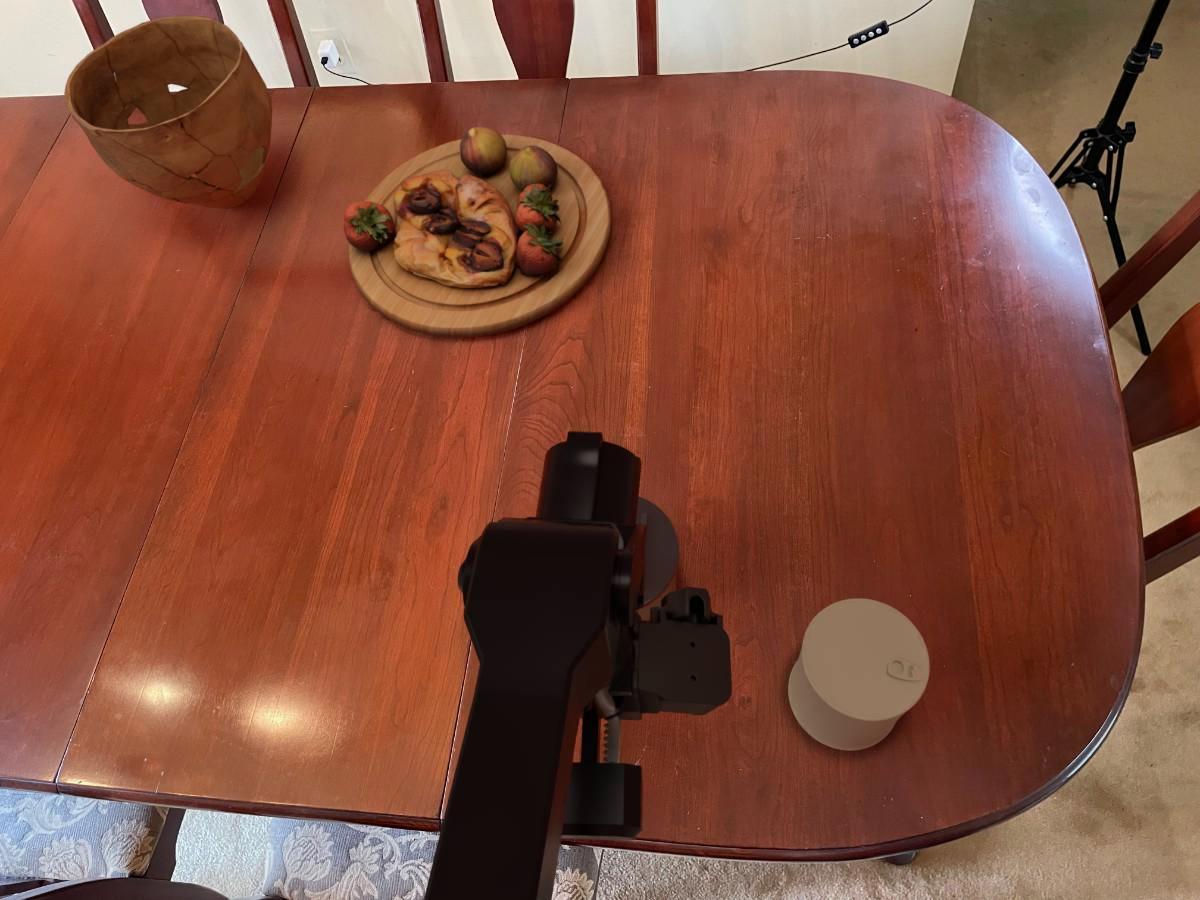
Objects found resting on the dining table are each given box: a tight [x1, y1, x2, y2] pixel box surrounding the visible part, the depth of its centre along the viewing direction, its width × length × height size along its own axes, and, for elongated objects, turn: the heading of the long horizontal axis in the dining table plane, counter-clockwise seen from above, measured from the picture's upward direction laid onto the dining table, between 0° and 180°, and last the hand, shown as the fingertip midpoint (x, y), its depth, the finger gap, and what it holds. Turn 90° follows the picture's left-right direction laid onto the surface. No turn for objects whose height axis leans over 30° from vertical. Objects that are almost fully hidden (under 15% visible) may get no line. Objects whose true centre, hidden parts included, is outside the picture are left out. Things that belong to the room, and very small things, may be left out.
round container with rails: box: [636, 496, 680, 621], centre depth 75 cm, size 11×11×9 cm
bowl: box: [63, 15, 273, 210], centre depth 102 cm, size 21×20×20 cm
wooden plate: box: [343, 125, 613, 339], centre depth 99 cm, size 32×32×8 cm
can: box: [787, 597, 931, 752], centre depth 67 cm, size 9×9×12 cm
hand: (607, 706), depth 61 cm, fingers open, 9 cm apart
